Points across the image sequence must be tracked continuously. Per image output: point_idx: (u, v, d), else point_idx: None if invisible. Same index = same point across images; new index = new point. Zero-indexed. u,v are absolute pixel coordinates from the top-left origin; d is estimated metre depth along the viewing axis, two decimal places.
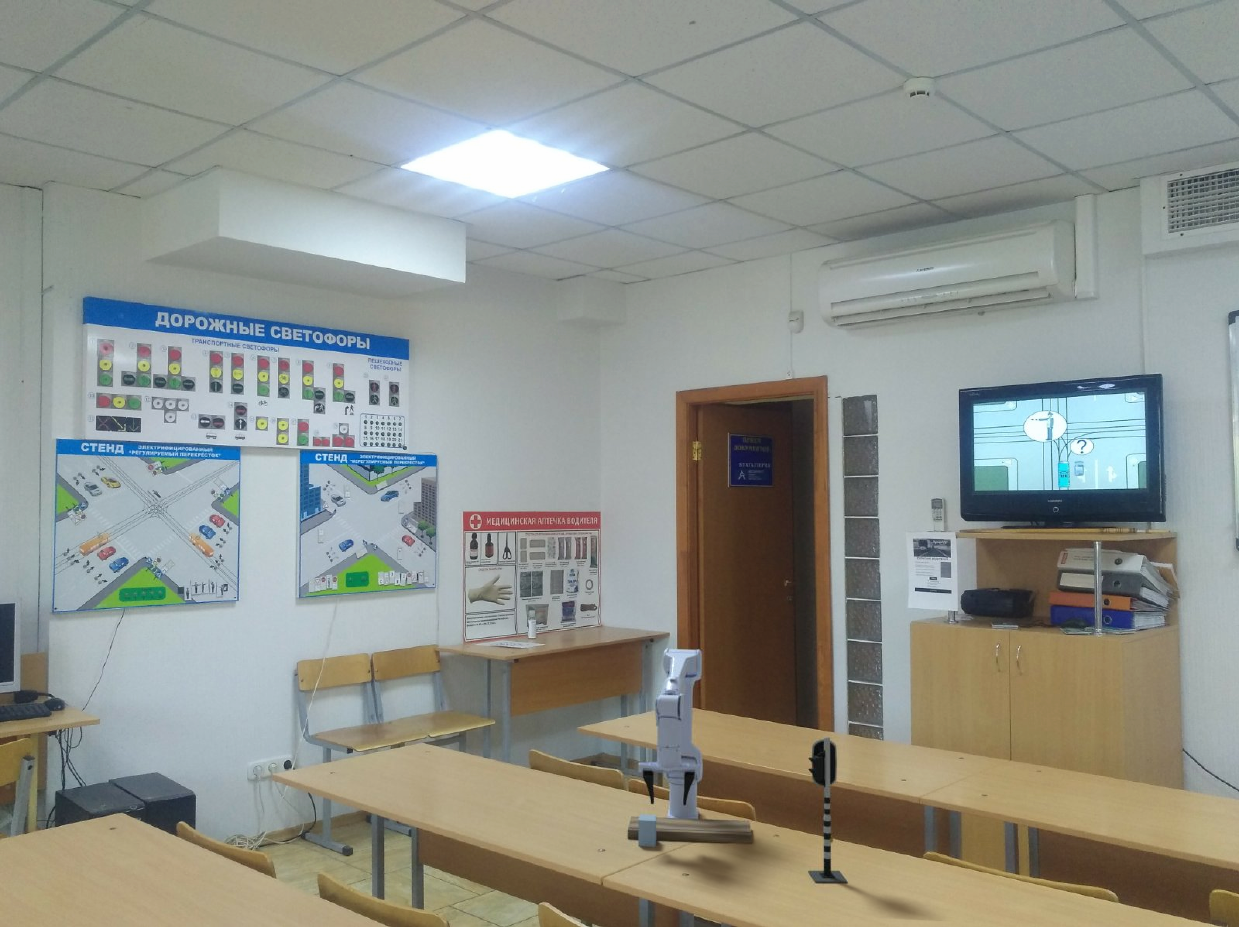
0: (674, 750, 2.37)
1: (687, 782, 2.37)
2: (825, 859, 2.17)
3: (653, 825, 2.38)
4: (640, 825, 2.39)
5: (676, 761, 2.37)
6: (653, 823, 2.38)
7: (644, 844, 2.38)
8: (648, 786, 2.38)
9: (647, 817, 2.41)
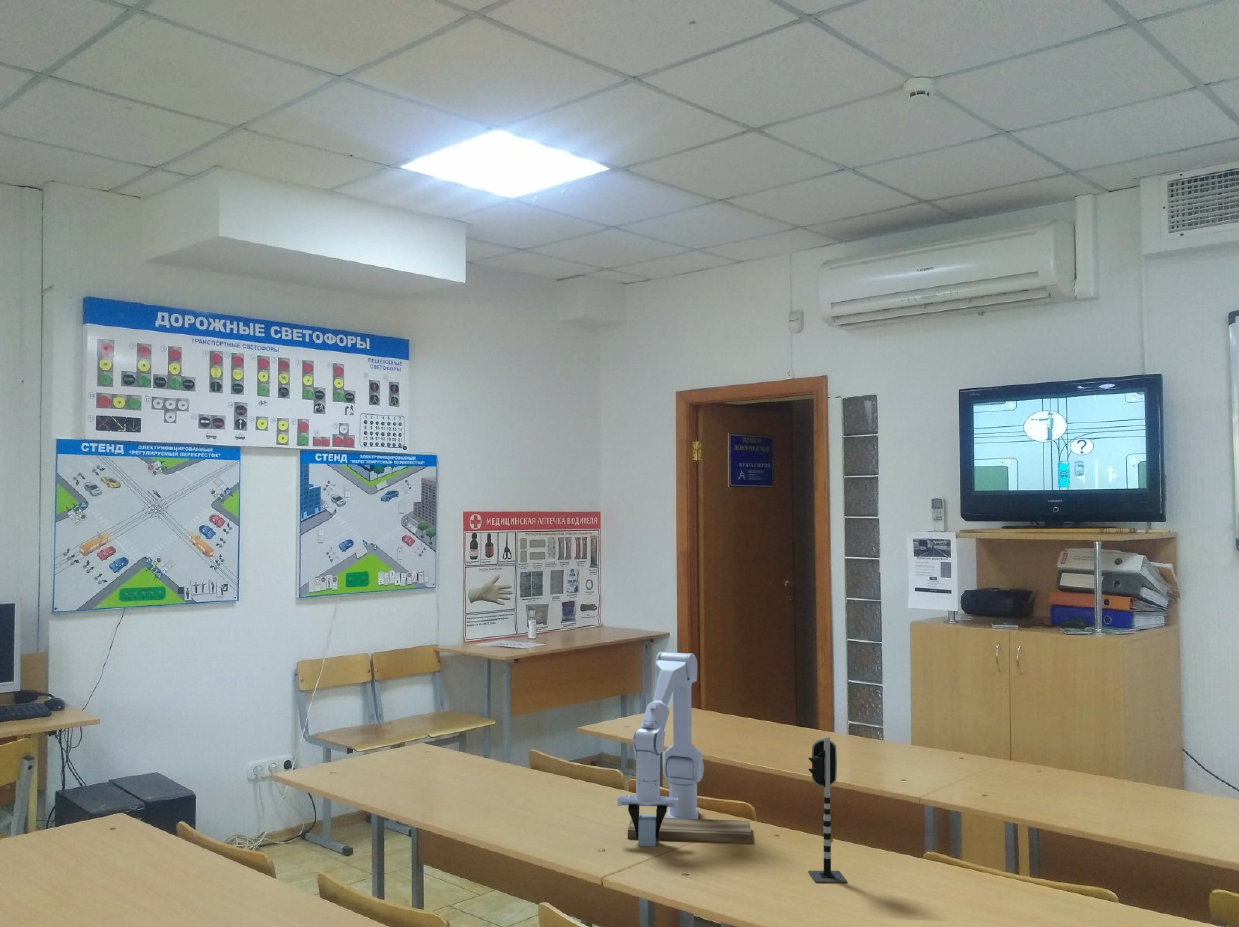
0: (653, 784, 2.39)
1: (659, 815, 2.39)
2: (825, 859, 2.17)
3: (653, 825, 2.38)
4: (640, 825, 2.39)
5: (654, 794, 2.39)
6: (653, 823, 2.38)
7: (644, 844, 2.38)
8: (633, 820, 2.40)
9: (647, 817, 2.41)
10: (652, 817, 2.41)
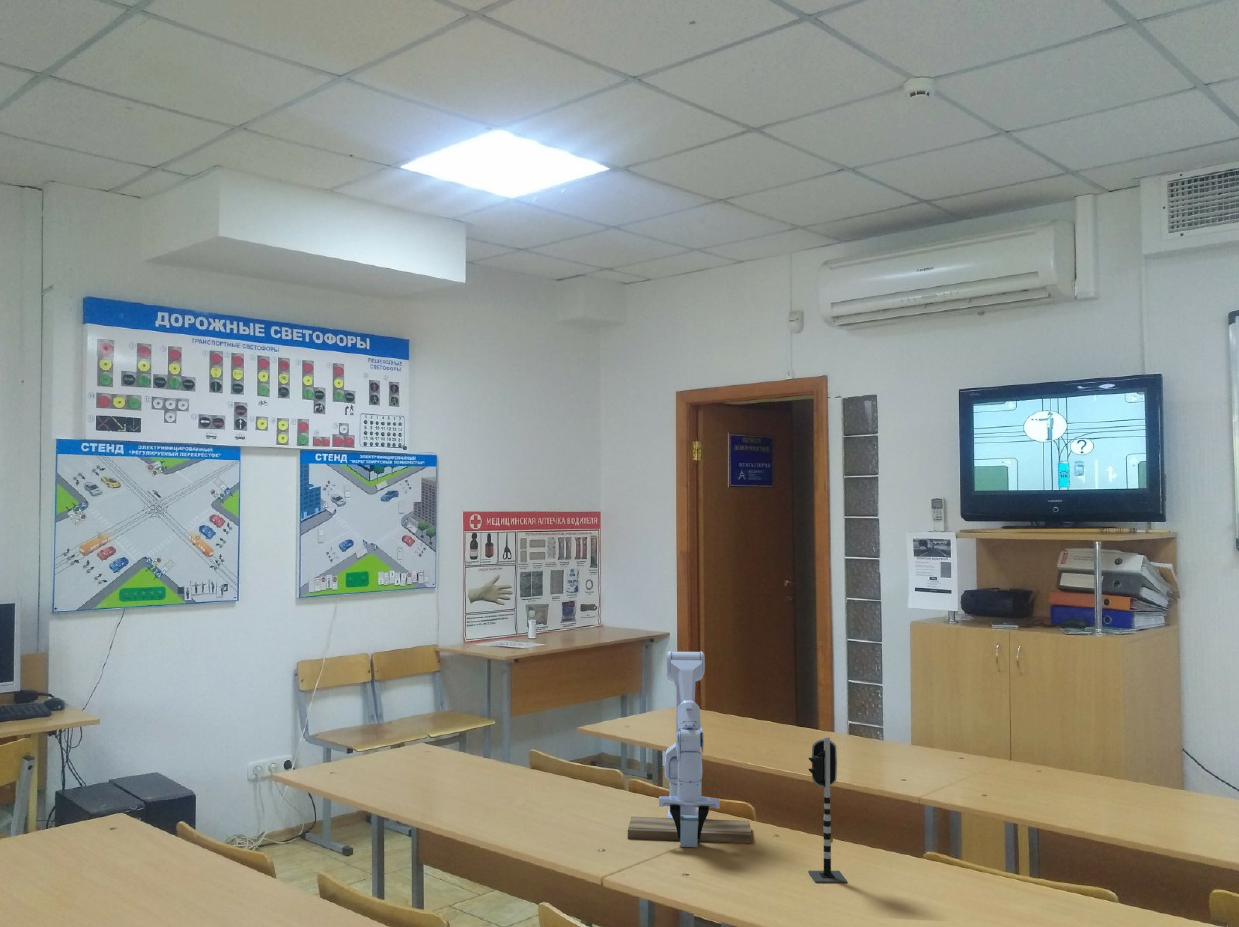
0: (695, 784, 2.38)
1: (702, 816, 2.38)
2: (825, 859, 2.17)
3: (695, 826, 2.38)
4: (682, 826, 2.38)
5: (696, 795, 2.38)
6: (695, 824, 2.38)
7: (686, 845, 2.37)
8: (675, 820, 2.39)
9: (689, 818, 2.40)
10: (694, 818, 2.40)
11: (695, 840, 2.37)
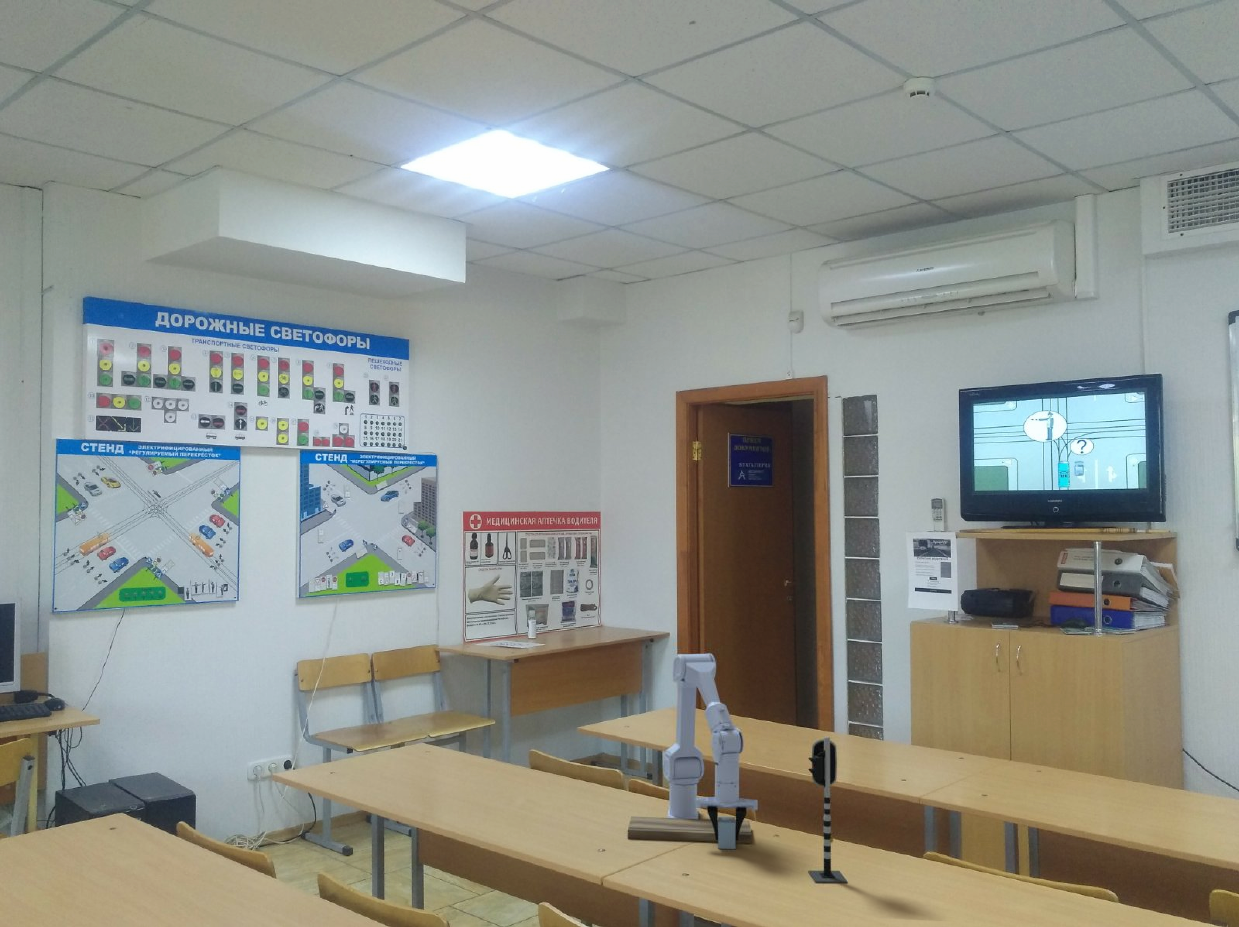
0: (732, 786, 2.38)
1: (739, 817, 2.37)
2: (825, 859, 2.17)
3: (733, 827, 2.37)
4: (720, 827, 2.37)
5: (734, 796, 2.38)
6: (733, 825, 2.37)
7: (724, 846, 2.37)
8: (713, 822, 2.38)
9: (726, 819, 2.40)
10: (731, 819, 2.40)
11: (733, 842, 2.37)
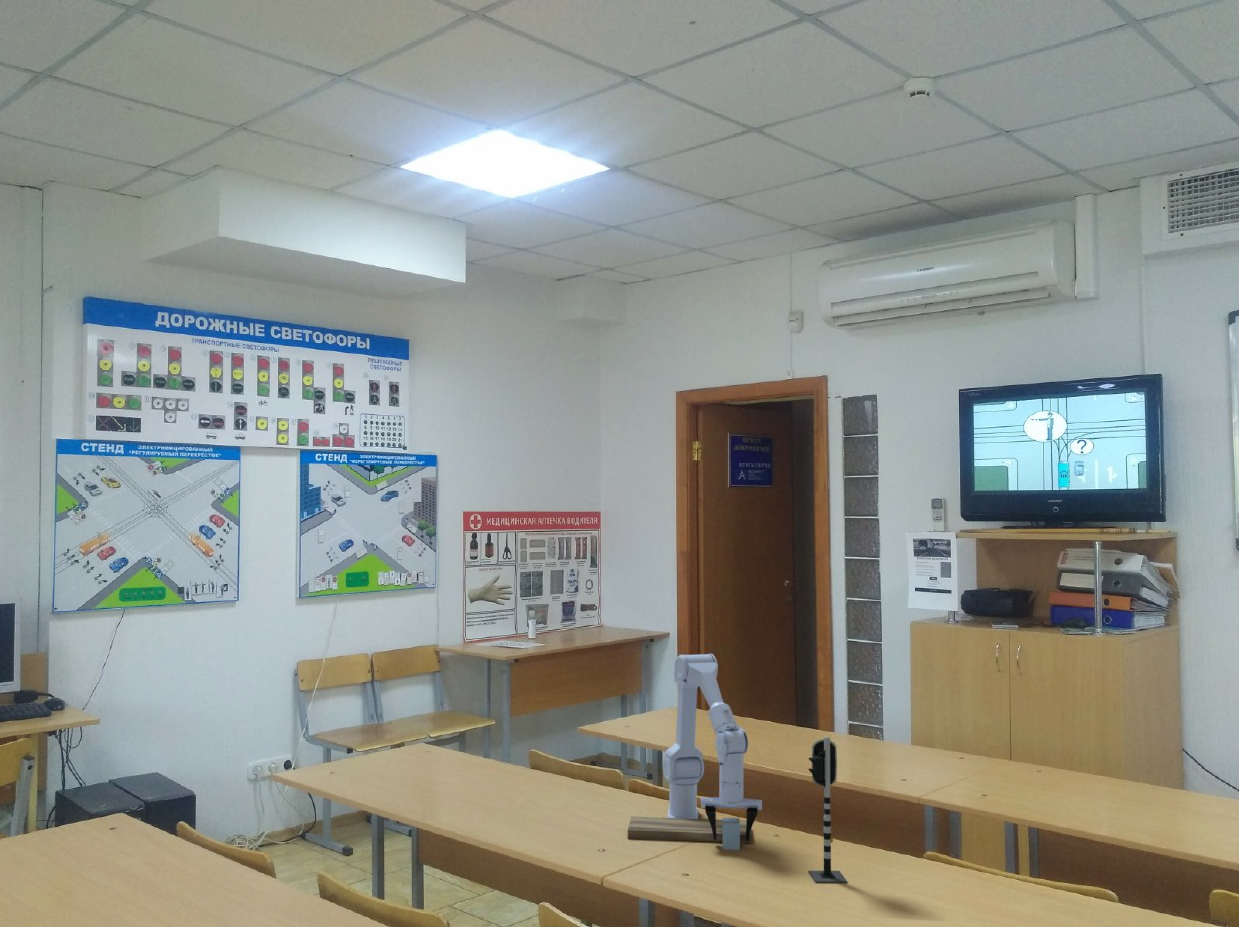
0: (737, 786, 2.38)
1: (750, 818, 2.37)
2: (825, 859, 2.17)
3: (738, 828, 2.37)
4: (724, 828, 2.37)
5: (739, 797, 2.38)
6: (737, 826, 2.37)
7: (728, 847, 2.37)
8: (711, 822, 2.38)
9: (730, 820, 2.40)
10: (736, 820, 2.39)
11: (737, 843, 2.37)
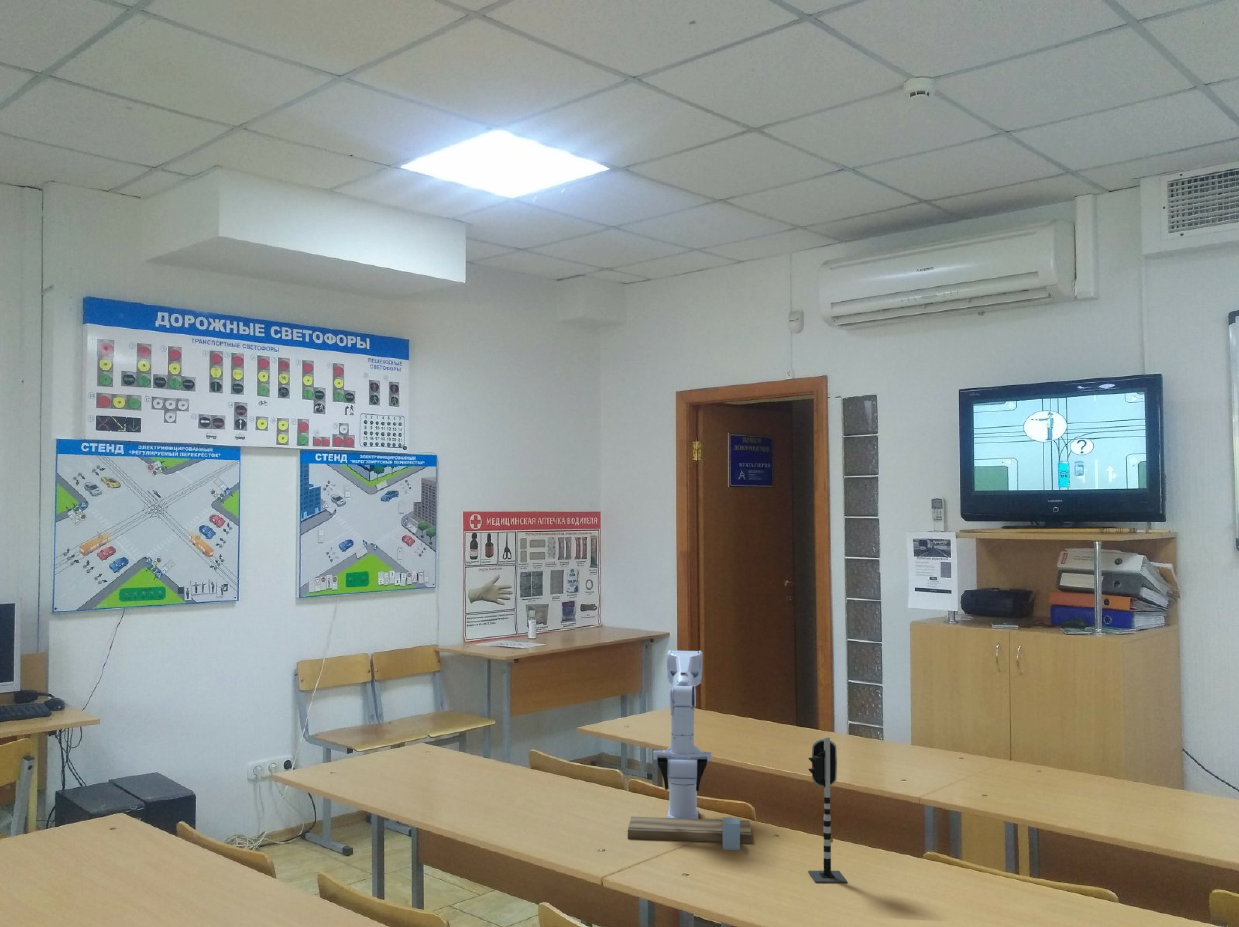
0: (687, 738, 2.49)
1: (700, 768, 2.49)
2: (825, 859, 2.17)
3: (738, 828, 2.37)
4: (724, 828, 2.37)
5: (689, 748, 2.49)
6: (737, 826, 2.37)
7: (728, 847, 2.37)
8: (662, 772, 2.50)
9: (730, 820, 2.40)
10: (736, 820, 2.39)
11: (737, 843, 2.37)
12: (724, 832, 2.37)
